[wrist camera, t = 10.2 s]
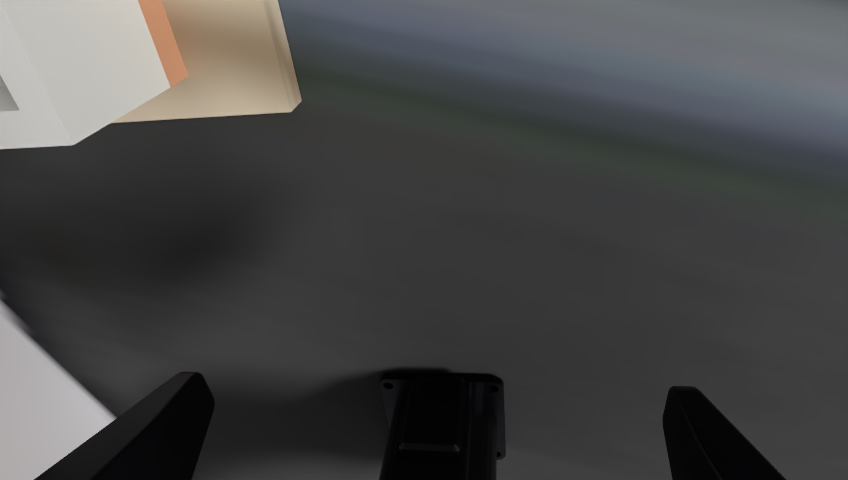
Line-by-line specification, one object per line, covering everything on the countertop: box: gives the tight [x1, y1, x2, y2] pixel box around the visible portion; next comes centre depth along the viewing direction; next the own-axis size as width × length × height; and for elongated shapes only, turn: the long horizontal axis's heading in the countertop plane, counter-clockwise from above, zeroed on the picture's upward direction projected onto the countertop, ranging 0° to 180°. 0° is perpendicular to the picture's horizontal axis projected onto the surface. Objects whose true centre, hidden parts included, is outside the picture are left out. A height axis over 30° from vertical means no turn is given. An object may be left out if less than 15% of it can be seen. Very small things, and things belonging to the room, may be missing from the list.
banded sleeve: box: [0, 0, 188, 149], centre depth 15 cm, size 5×5×6 cm
